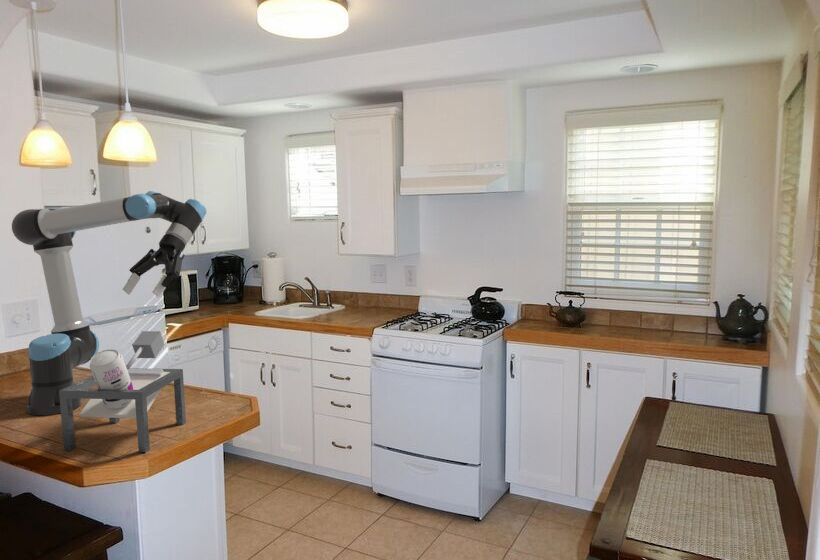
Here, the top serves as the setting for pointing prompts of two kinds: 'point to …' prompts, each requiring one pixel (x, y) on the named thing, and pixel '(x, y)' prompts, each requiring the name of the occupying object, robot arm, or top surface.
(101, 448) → the top surface
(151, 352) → the trapdoor
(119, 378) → the supplement can
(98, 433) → the top surface
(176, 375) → the stand
